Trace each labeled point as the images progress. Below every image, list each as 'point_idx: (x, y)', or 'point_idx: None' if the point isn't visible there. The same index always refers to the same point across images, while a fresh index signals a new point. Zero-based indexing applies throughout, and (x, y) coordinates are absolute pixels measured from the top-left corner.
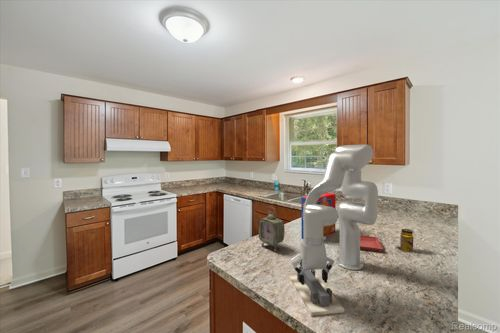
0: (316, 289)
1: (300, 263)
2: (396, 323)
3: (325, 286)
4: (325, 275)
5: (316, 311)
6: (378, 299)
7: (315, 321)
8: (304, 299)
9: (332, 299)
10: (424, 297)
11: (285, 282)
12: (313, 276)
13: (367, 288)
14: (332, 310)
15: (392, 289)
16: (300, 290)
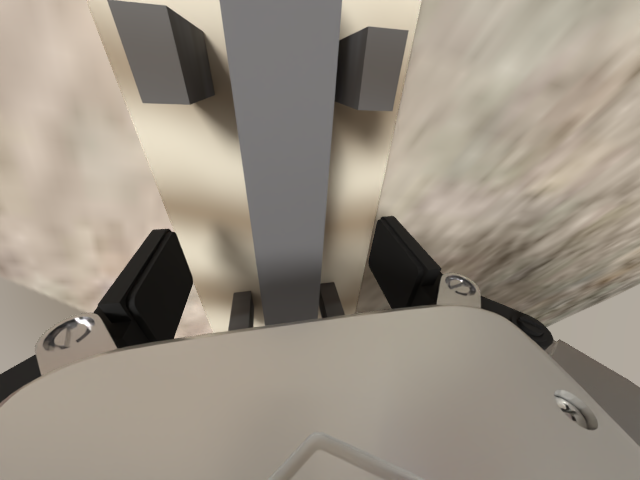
0: None
1: (31, 383)
2: None
3: (378, 194)
4: (392, 306)
5: None
6: (512, 265)
7: None
8: (199, 288)
9: (343, 287)
10: (631, 261)
11: (15, 3)
12: (313, 214)
13: (560, 203)
14: None
15: (624, 219)
16: (185, 217)
